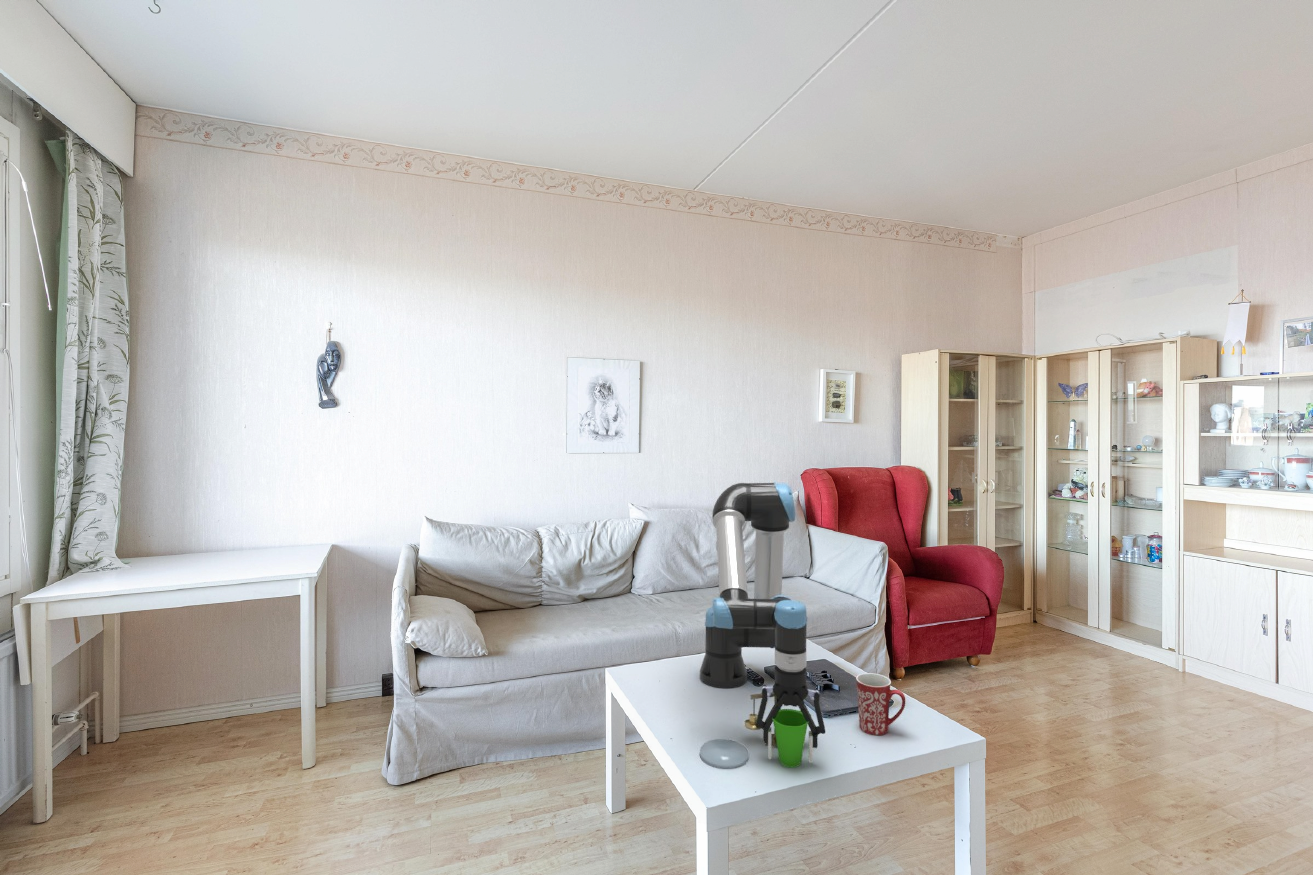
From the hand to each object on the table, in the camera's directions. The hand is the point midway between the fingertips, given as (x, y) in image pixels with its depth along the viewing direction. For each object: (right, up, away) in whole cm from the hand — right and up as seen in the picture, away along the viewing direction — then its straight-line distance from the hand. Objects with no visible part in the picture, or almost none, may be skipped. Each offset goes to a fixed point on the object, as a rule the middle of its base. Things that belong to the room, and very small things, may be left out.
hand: (790, 757), depth 152 cm
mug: (+27, -1, +15) cm, 31 cm away
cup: (0, -1, 0) cm, 1 cm away
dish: (-16, -1, +3) cm, 16 cm away
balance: (-1, -1, +9) cm, 10 cm away
